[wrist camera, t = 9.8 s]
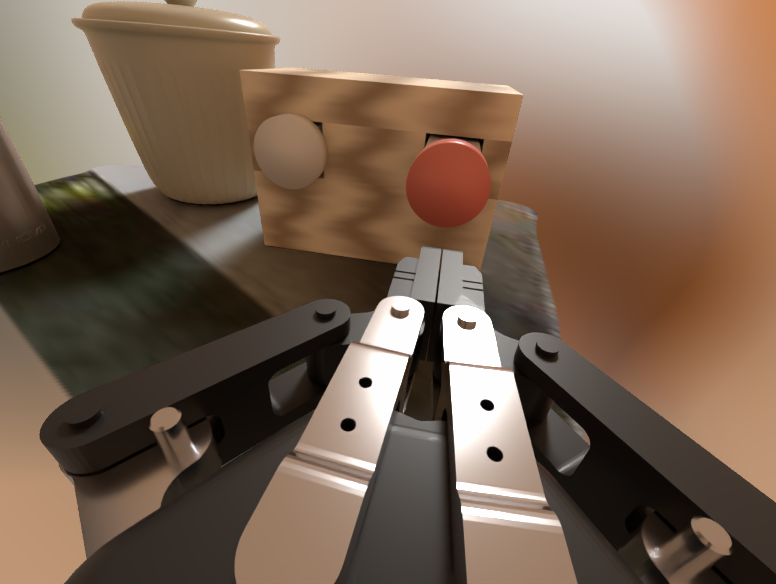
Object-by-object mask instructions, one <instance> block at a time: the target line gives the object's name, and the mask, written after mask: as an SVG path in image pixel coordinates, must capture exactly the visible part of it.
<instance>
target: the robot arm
mask: <svg viewBox="0 0 776 584" xmlns="http://www.w3.org/2000/svg"><path fill="white" fill-rule="evenodd" d="M59 242H60V237H59V235H58V233H57V231H56V229H55V227H54V225H53V223H52V221H51V219H50V217H49V215H48V213H47V211H46V209H45V207H44V205H43V203H42V201H41V199H40V196H39V194H38V192H37V190H36V188H35V186H34V184H33V182H32V180H31V178H30V176H29V174H28V172H27V170H26V168H25V166H24V164H23V162H22V160H21V158H20V156H19V154H18V152H17V150H16V148H15V146H14V144H13V142H12V140H11V138H10V136H9V134H8V132H7V130H6V128H5V126H4V124H3V122H2V120H1V118H0V272H3V271H7V270H10V269H13V268H16V267H19V266H22V265H25V264H27V263H30V262H32V261H35V260H37V259H39V258H41V257H43V256H45V255H46V254H48V253H49V252H51V251H52V250H54V249H55V248H56V247H57V245H58V244H59ZM440 256H441V248H434V247H427V246H422V248H421V252H420V257H419V258H412V257H405V258H404V259H402V260H401V261H400V262H398V265H397V268H396V272H395V274H394V278H393V280H392V283H391V286H390V289H389V292H388V295H387V298H385V299H383V300H382V301H381V302H380V303H379V304H378V306H377V308H376V310H374V311H371V312H367V313H354V314H351V313H350V308H349V307H348V306H347V305H346V304H345V303H343V302H341V301H339V300H335V299H320V300H316V301H313V302H310V303H308V304H305V305H303V306H300V307H298V308H295V309H293V310H290V311H288V312H285V313H283V314H280V315H278V316H275V317H273V318H270V319H268V320H265V321H263V322H260V323H258V324H255V325H253V326H250V327H248V328H245V329H243V330H240V331H238V332H235V333H233V334H230V335H228V336H225V337H223V338H220V339H218V340H215V341H213V342H210V343H208V344H205V345H203V346H200V347H198V348H195V349H193V350H190V351H188V352H185V353H183V354H180V355H178V356H175V357H173V358H170V359H168V360H165V361H163V362H160V363H158V364H155V365H153V366H150V367H148V368H145V369H143V370H140V371H138V372H135V373H133V374H130V375H128V376H125V377H123V378H120V379H118V380H115V381H113V382H110V383H108V384H105V385H103V386H100V387H98V388H95V389H93V390H90V391H88V392H85V393H83V394H80V395H78V396H76V397H74V398H72V399H70V400H68V401H67V402H65V403H64V404H62V405H61V406H59V407H58V408H57V409H55V411H53V412H52V413H51V414H50V415H49V416H48V418H47V419H46V420H45V422H44V423H43V425H42V427H41V429H40V440H41V442H42V443H43V444H44V446H45V447H46V448H47V449H48V451H49V452H50V453H51V454H52V455H53V456H54V458H55V459H56V460H57V461H58V463H59V467H60V469H61V471H62V472H63V473H64V474H65V475H66V477H67V478H68V479H69V480H70V481H71V483H72V484H73V485H74V486H75V492H76V498H77V504H78V510H79V516H80V521H81V527H82V533H83V540H84V546H85V551H86V557H87V560H86V561H85V562H84V563H83V564H82V565H81V566H80V567H79V568H78V569H76V570H75V572H74V573H73V574H72V575H71V576H70V577H69V579H68V580H67V581H66V582H65V583H64V584H776V503H775V502H774V501H773V500H772V499H770V498H769V497H768V496H766V495H765V494H764V493H762V492H761V491H759V490H758V489H757V488H755V487H754V486H753V485H752V484H750V483H749V482H748V481H746V480H745V479H744V478H742V477H741V476H740V475H738V474H737V473H736V472H734V471H733V470H731V468H729V467H728V466H727V465H725V464H724V463H722V462H721V461H720V460H719V459H717V458H716V457H714V456H713V455H712V454H711V453H709V452H708V451H707V450H705V449H704V448H703V447H701V446H700V445H699V444H697V443H696V442H695V441H693V440H692V439H691V438H689V437H688V436H687V435H686V434H684V433H683V432H681V431H680V430H679V429H678V428H676V427H675V426H674V425H672V424H671V423H670V422H668V421H667V420H666V419H664V418H663V417H662V416H660V415H659V414H658V413H656V412H655V411H654V410H652V409H651V408H650V407H648V406H647V405H646V404H644V403H643V402H642V401H640V400H639V399H638V398H636V397H635V396H634V395H633V394H631V393H630V392H629V391H627V390H626V389H625V388H623V387H622V386H621V385H619V384H618V383H617V382H615V381H614V380H613V379H611V378H610V377H609V376H607V375H606V374H605V373H603V372H602V371H601V370H599V369H598V368H597V367H595V366H594V365H593V364H591V363H590V362H589V361H588V360H586V359H585V358H584V357H582V356H581V355H580V354H578V353H577V352H576V351H574V350H573V349H572V348H570V347H569V346H568V345H566V344H565V343H564V342H562V341H561V340H559V339H557V338H555V337H553V336H551V335H548V334H544V333H528V334H525V335H523V336H522V337H521V339H520V341H517V340H515V339H512V338H509V337H507V336H504V335H502V334H500V333H499V332H497V331H496V330H494V329H493V328H492V323H491V320H490V319H489V317H488V316H487V315H486V314H485V308H484V296H483V284H482V274H481V273H480V272H479V270H478V269H477V268H476V267H475V266H468V265H463V251H456V250H449V249H443V251H442V257H441V263H440ZM439 264H440V269H439ZM438 272H439V275H438ZM437 280H438V281H437ZM431 322H432V325H431ZM430 328H431V333H430ZM429 334H430V341H429V349H428V357H427V361H430V362H434V364H433V371H432V377H431V392H430V421H419V420H416V419H413V418H411V417H409V416H407V415H405V411H406V408H407V404H408V400H409V396H410V392H411V389H412V385H413V381H414V375H415V372H416V371H417V369H418V364H419V360H424V361H425V357H426V351H427V345H428V339H429ZM304 357H306V362H305V363H303V364H301V365H299V366H297V367H295V368H293V369H291V370H289V371H287V372H285V373H283V374H281V375H279V376H277V377H275V378H273V379H272V380H270V378H271V377H272V376H273V375H274V374H275V373H276V372H277V371H279V370H280V369H282V368H284V367H286V366H288V365H290V364H292V363H294V362H296V361H298V360H300V359H302V358H304ZM269 380H270V381H269ZM553 402H555V403H556V404H557V405H558V406H559V407H561V408H562V409H563V410H564V411H565V412H566V413H567V414H568V415H569V416H570V417H571V418H572V419H574V420H575V421H576V422H577V423H578V424H579V425H580V426H581V427H582V428H583V429H584V430H585V431H586V433H587V435H588V437H589V439H590V445H589V444H588V443H587V442H585V441H584V440H583V439H582V438H581V437H580V436H579V435H578V434H577V433H576V432H575V431H574V430H573V429H572V428H571V427H570V426H569V425H568V424H567V423H565V422H564V421H563V420H562V419H561V418H560V417H559V416H558V415H557V414H556V413H555V412H554V411H553V410H552V409H551V406H552V404H553ZM314 409H316V410H315V412H314V413H312V414H309V415H306V414H308V413H309V412H311V411H312V410H314ZM304 415H306V416H304ZM274 433H275V434H274ZM271 435H272V436H271ZM266 438H267V439H266ZM263 440H264V441H263ZM261 441H262V442H261ZM260 442H261V443H260ZM258 443H259V444H258ZM256 444H258V445H256ZM255 445H256V446H255ZM253 446H255V447H253ZM251 447H253V448H251ZM250 448H251V449H250ZM248 449H250V450H248ZM246 450H248V451H247V452H245V451H246ZM243 452H245V453H244V454H242V455H241V456H239V457H238V458H236V459H234V460H233V461H231V462H230V463H228V464H227V465H225V466H224V467H222V468H221V466H222V465H223V464H225V463H227V462H228V461H230V460H232V459H233V458H235V457H237V456H238V455H240V454H241V453H243ZM220 468H221V469H220Z"/></svg>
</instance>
